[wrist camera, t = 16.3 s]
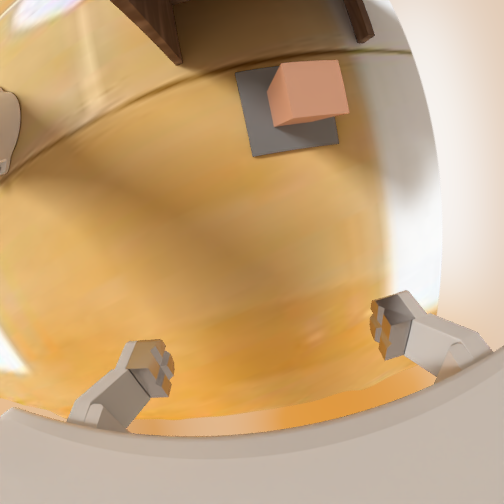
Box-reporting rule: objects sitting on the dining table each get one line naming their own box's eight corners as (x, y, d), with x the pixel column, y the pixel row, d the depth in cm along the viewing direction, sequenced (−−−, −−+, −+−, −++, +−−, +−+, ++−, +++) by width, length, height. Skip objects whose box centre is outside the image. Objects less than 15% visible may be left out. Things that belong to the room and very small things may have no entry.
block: (273, 127, 33) (293, 118, 20) (266, 91, 31) (281, 63, 18) (310, 122, 33) (349, 113, 20) (303, 87, 31) (338, 59, 18)
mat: (252, 156, 35) (252, 156, 34) (234, 73, 30) (234, 72, 30) (337, 143, 34) (339, 143, 34) (321, 63, 30) (322, 62, 29)
